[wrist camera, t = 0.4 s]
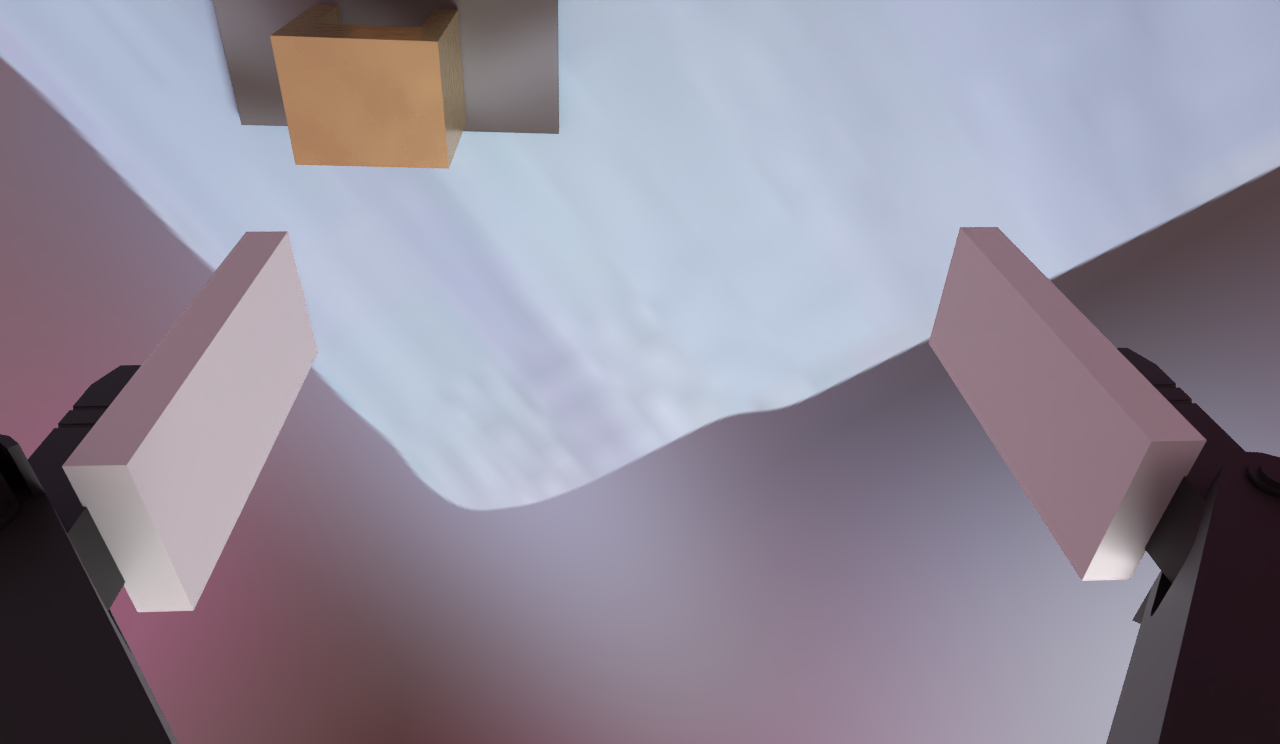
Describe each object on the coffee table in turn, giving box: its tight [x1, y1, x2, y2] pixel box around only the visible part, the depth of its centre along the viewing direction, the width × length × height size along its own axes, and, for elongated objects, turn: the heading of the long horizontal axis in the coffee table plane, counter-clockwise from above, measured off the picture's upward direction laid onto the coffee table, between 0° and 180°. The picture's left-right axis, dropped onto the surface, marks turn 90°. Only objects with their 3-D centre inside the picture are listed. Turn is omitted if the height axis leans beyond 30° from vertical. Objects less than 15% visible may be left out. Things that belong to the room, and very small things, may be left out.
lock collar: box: [270, 4, 467, 168], centre depth 35 cm, size 5×6×6 cm
